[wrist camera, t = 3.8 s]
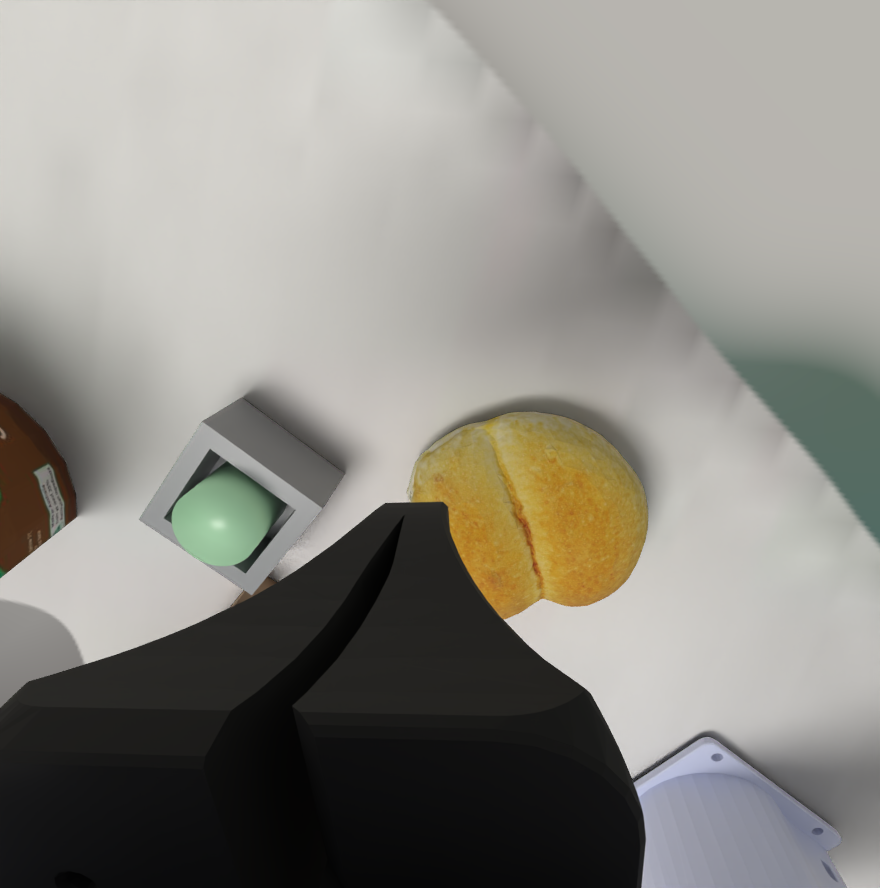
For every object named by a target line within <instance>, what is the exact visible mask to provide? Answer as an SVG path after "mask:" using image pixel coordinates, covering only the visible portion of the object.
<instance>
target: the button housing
mask: <svg viewBox="0 0 880 888" xmlns="http://www.w3.org/2000/svg"><path fill="white" fill-rule="evenodd" d="M226 461H228V462H229V463H231V464H232V465H233V466H235V467H236V468H238V469H239V470H240V471H242V472H243V473H245V474H246V475H247V476H249V477H250V478H252V479H253V480H254V481H256V482H257V483H259V484H260V485H261V486H263V487H264V488H266V489H267V490H268V491H270V492H271V493H273V494H274V495H275V496H277V497H278V498H280V499H281V500H282V501H284V502H285V503H287V507H286V509H285V511H284V512H283V513H282V515H281V516H280V517H279V519H278V520H277V521H276V522H275V524H274V525H273V526H272V528H271V529H270V530H269V531H268V533H267V534H266V535H265V536H264V538H263V539H262V540H261V542H260V543H259V544H258V545H257V547H256V548H255V549H254V551H253V552H252V553H251V554H250V555H249V556H248V558H246V559H245V560H244V561H242V562H240V563H238V564H235V565H231V566H215V565H211V564H207V563H204V562H203V563H204V564H206V565H207V566H209V567H210V568H212V569H213V570H215V571H216V572H218V573H219V574H221V575H222V576H224V577H225V578H227V579H228V580H229V581H231V582H232V583H234V584H235V585H237V586H238V587H240V588H241V589H243V590H244V591H246V592H247V593H249V594H250V595H253V593H254V592H255V591H256V590H257V589H258V587H259V586H260V585H261V584H262V582H263V581H264V580H265V579H266V577H267V576H268V575H269V574H270V573H271V571H272V570H273V569H274V568H275V566H276V565H277V564H278V563H279V562H280V560H281V559H282V558H283V557H284V555H285V554H286V553H287V552H288V550H289V549H290V548H291V547H292V546H293V544H294V543H295V542H296V541H297V539H298V538H299V537H300V536H301V535H302V533H303V532H304V531H305V530H306V528H307V527H308V526H309V525H310V523H311V522H312V521H313V520H314V519H315V517H316V516H317V515H318V514H319V512H320V511H321V510H322V509H323V507H324V506H325V504H326V503H327V501H328V499H329V498H330V496H331V495H332V493H333V492H334V490H335V489H336V487H337V485H338V484H339V482H340V481H341V479H342V478H343V476H344V475H345V474H344V473H343V472H342V471H340V470H339V469H338V468H336V467H335V466H334V465H332V464H331V463H330V462H328V461H327V460H326V459H324V458H323V457H322V456H320V455H319V454H317V453H316V452H315V451H313V450H312V449H311V448H309V447H308V446H307V445H305V444H304V443H303V442H301V441H300V440H299V439H297V438H296V437H295V436H293V435H292V434H290V433H289V432H288V431H286V430H285V429H284V428H282V427H281V426H280V425H278V424H277V423H276V422H274V421H273V420H272V419H270V418H269V417H268V416H266V415H265V414H263V413H262V412H261V411H259V410H258V409H257V408H255V407H254V406H253V405H251V404H250V403H249V402H247V401H246V400H245V399H243V398H240V399H239V400H237V401H235V402H234V403H232V404H230V405H229V406H227V407H225V408H224V409H222V410H220V411H219V412H217V413H215V414H214V415H212V416H210V417H209V418H207V419H205V420H204V421H202V422H201V424H200V425H199V427H198V428H197V430H196V432H195V433H194V435H193V436H192V438H191V439H190V441H189V442H188V444H187V446H186V447H185V449H184V450H183V452H182V453H181V455H180V456H179V458H178V460H177V461H176V463H175V464H174V466H173V467H172V469H171V470H170V472H169V473H168V475H167V477H166V478H165V480H164V481H163V483H162V484H161V486H160V487H159V489H158V491H157V492H156V494H155V495H154V497H153V498H152V500H151V501H150V503H149V504H148V506H147V508H146V509H145V511H144V512H143V514H142V515H141V517H140V518H139V520H140V521H142V522H143V523H145V524H146V525H148V526H149V527H151V528H152V529H154V530H155V531H157V532H158V533H159V534H161V535H162V536H164V537H165V538H167V539H168V540H170V541H171V542H173V543H174V544H176V545H177V546H179V547H180V548H182V549H183V550H185V549H184V548H183V547H182V546H181V544H180V543H179V542H178V540H177V538H176V536H175V534H174V531H173V528H172V512H173V509H174V507H175V505H176V503H177V502H178V500H179V499H180V498H181V497H183V496H184V495H185V494H186V493H188V492H189V491H190V490H191V489H192V488H194V487H195V486H196V485H197V484H199V483H200V482H201V481H202V480H204V479H205V478H206V477H207V476H209V475H210V474H211V473H212V472H214V471H215V470H216V469H217V468H219V467H220V466H221V465H222V464H224V463H225V462H226ZM185 551H186V550H185ZM186 552H187V551H186ZM201 562H202V561H201Z"/></svg>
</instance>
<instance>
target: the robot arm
mask: <svg viewBox="0 0 880 888" xmlns="http://www.w3.org/2000/svg"><path fill="white" fill-rule="evenodd" d="M841 841H842V839H841V837H840V835H839V833H838V832H837V830H836V829H835V828H833V827H832V826H831V825H829V824H828V823H827V822H825V821H824V820H823V819H821V818H820V817H819V816H817V815H816V814H814V813H813V812H812V811H810V810H809V809H808V808H806V807H805V806H804V805H802V804H801V803H800V802H798V801H797V800H796V799H794V798H793V797H792V796H790V795H789V794H788V793H786V792H785V791H784V790H782V789H781V788H780V787H778V786H777V785H776V784H774V783H773V782H772V781H770V780H769V779H768V778H766V777H765V776H763V775H762V774H761V773H759V772H758V771H757V770H755V769H754V768H753V767H751V766H750V765H749V764H747V763H746V762H745V761H743V760H742V759H741V758H739V757H738V756H737V755H735V754H734V753H733V752H731V751H730V750H729V749H727V748H726V747H725V746H723V745H722V744H721V743H719V742H718V741H716V740H715V739H713V738H710V737H703V738H701V739H699V740H697V741H696V742H694V743H693V744H691V745H690V746H688V747H687V748H685V749H684V750H682V751H681V752H679V753H678V754H676V755H675V756H673V757H672V758H670V759H669V760H667V761H666V762H664V763H663V764H661V765H660V766H658V767H657V768H655V769H654V770H652V771H651V772H649V773H647V774H646V775H644V776H643V777H641V778H640V779H638V780H637V781H635V782H634V783H633V781H632V778H631V776H630V773H629V771H628V768H627V766H626V763H625V761H624V759H623V756H622V754H621V752H620V749H619V747H618V745H617V743H616V741H615V739H614V737H613V735H612V733H611V731H610V729H609V727H608V725H607V723H606V721H605V719H604V717H603V715H602V714H601V712H600V710H599V708H598V706H597V704H596V702H595V701H594V699H593V697H592V695H591V694H590V693H589V692H588V691H587V690H586V689H585V688H584V687H582V686H581V685H579V684H578V683H577V682H575V681H574V680H572V679H571V678H570V677H568V676H567V675H565V674H564V673H562V672H561V671H560V670H558V669H557V668H555V667H554V666H553V665H551V664H550V663H548V662H547V661H546V660H544V659H543V658H542V657H541V656H540V655H538V654H537V653H536V652H535V651H534V650H533V649H532V648H530V647H529V646H528V645H527V644H526V643H525V642H524V641H523V640H522V639H521V638H520V637H519V636H518V635H517V634H516V633H515V631H514V630H513V629H512V628H511V627H510V626H509V625H508V624H507V623H506V622H505V621H504V620H503V619H502V618H501V617H500V616H499V615H498V613H497V612H496V611H495V610H494V608H493V607H492V606H491V605H490V603H489V602H488V601H487V599H486V598H485V597H484V595H483V594H482V592H481V591H480V590H479V588H478V587H477V585H476V584H475V582H474V580H473V579H472V577H471V575H470V574H469V572H468V570H467V568H466V566H465V565H464V563H463V561H462V559H461V557H460V555H459V553H458V550H457V548H456V545H455V543H454V541H453V538H452V535H451V532H450V523H449V510H448V506H447V505H446V504H445V503H444V502H409V503H385V504H383V505H382V506H380V507H379V508H378V509H376V510H375V511H374V512H373V513H371V514H370V515H369V516H368V517H366V518H365V519H364V520H363V521H362V522H360V523H359V524H358V525H357V526H356V527H354V528H353V529H352V530H351V531H349V532H348V533H347V534H345V535H344V536H343V537H342V538H340V539H339V540H338V541H337V542H335V543H334V544H333V545H332V546H330V547H329V548H327V549H326V550H325V551H323V552H322V553H320V554H319V555H318V556H316V557H315V558H313V559H312V560H311V561H309V562H308V563H306V564H305V565H304V566H302V567H301V568H299V569H298V570H296V571H295V572H293V573H292V574H290V575H289V576H287V577H285V578H284V579H282V580H281V581H279V582H277V583H275V584H274V585H272V586H270V587H269V588H267V589H265V590H263V591H262V592H260V593H258V594H256V595H254V596H253V597H251V598H249V599H247V600H245V601H243V602H241V603H239V604H237V605H235V606H233V607H230V608H228V609H226V610H224V611H222V612H220V613H218V614H216V615H214V616H212V617H210V618H208V619H206V620H203V621H201V622H199V623H197V624H195V625H192V626H190V627H188V628H185V629H183V630H180V631H178V632H175V633H173V634H171V635H168V636H166V637H163V638H160V639H158V640H155V641H152V642H150V643H147V644H145V645H142V646H139V647H137V648H134V649H131V650H128V651H125V652H122V653H120V654H117V655H114V656H111V657H107V658H104V659H101V660H98V661H95V662H91V663H88V664H85V665H82V666H79V667H76V668H72V669H69V670H66V671H63V672H59V673H56V674H53V675H50V676H46V677H43V678H39V679H36V680H32V681H29V682H28V683H26V684H25V685H24V686H23V687H22V688H21V689H20V690H19V691H18V692H17V693H15V694H14V695H13V696H12V697H11V698H10V699H9V700H8V701H7V702H6V703H5V704H4V705H3V706H2V707H1V708H0V888H641V887H642V888H847V886H846V885H845V883H844V881H843V879H842V878H841V876H840V874H839V872H838V870H837V869H836V867H835V865H834V863H833V862H832V860H831V858H830V856H829V854H828V853H827V851H829V850H831V849H832V848H834V847H836V846H838V845H839V844H840V843H841Z"/></svg>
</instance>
